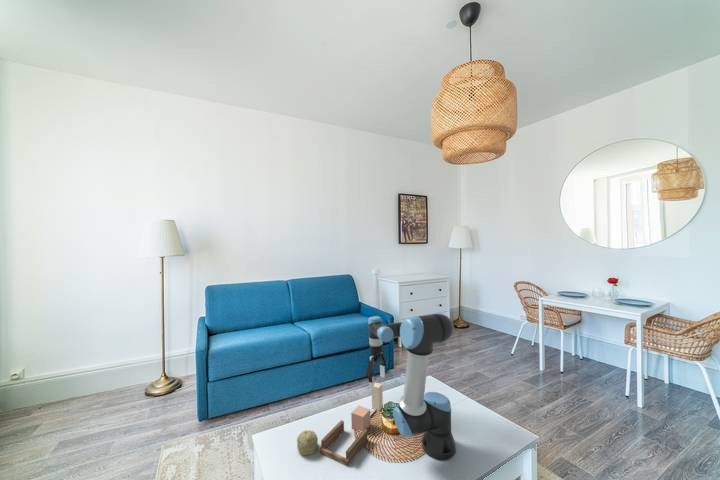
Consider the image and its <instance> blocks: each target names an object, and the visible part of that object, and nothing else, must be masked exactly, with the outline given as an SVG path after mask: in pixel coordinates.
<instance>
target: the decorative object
mask: <svg viewBox="0 0 720 480" xmlns="http://www.w3.org/2000/svg"><path fill="white" fill-rule="evenodd" d="M318 439H319V438H318V435H317V434H316V432H315V431H314V430H310V429H308V430H306V429H305V430H303V431H302V432H300V433H299V434H298V435H297V437H296V444H297V452H298V453H299V455H301V456H303V457H305V456H309V455H312V454H314V453H315V452H316V451H317V449H318Z"/></svg>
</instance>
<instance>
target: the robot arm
mask: <svg viewBox="0 0 720 480" xmlns="http://www.w3.org/2000/svg"><path fill="white" fill-rule="evenodd" d="M382 322H383V320H382V317H381V316H378V315H375V316H370V317H368V322H367V323H368V340H369V341H368V342H369V345H368V347H369V352H370V353H371V356H368V363H367V367H366V373H365V376H366V377H368V388H369V389H372V388H374V383H375V382H374V381H375V379H374V377H375V376H374V372H375V369H376V365H377V364H378V363H379V364H380V365H379V373H380V374H379V377H380V378H385V377H386V374H385V373H386V370H385V369H386V368H385V367H386V366H387V358H386V356H385V353H384V352H385V351H384V348H383V347H384V346H383V342H384V343H389V342H391V340H392V339H396V338H400V342H401V345H403V347H404V349H405V351H407V356H406V365H405V366H406V368H405V377H404V385H403V386H404V387H403V395H402V396H401V397H400V398H399V402H398V406H395V407H394V408H393V409H392V415H393V421H394V423H395V426H396V429H397V431H398V433H400V435H401V436H402V437H404V438H409V437H411V438H412V437H413V436H416V435H420V434H422V436H421V448H422V450H423V451H424V453H425V454H426V455H427V456H429V457H430V458H432V459H435V460H439V461H446V460H450V459H451V458H453V457H454V456H455V455H456V452H457V446H456V445H457V444H456V442H455V439H454V436H453V432H452V408H451V407H452V405H451V401H450V398H448V397H447V396H446V395H444V394H442V393H439V392H436V391H428V392H425V391H426V381H427V374H428V373H427V372H428V365H429V364H428V363H429V357H430V356H431V355H432V354H433V353H434V346H435V345H436V344H441V343H445V342H447V341H448V340H450V339H451V338H452V337H453V334H454V331H455V326H454V323H453V321H452V320H451V318H450V317H449V316H447V315H446V314H443V313H433V314H425V315H417V316H416V315H414V316H412V317H411V316H410V317H407V318H405V319H404V320H403V321H399V322H394V323H385V324H384V323H382Z"/></svg>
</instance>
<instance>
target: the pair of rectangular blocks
mask: <svg viewBox="0 0 720 480" xmlns="http://www.w3.org/2000/svg"><path fill="white" fill-rule="evenodd" d="M383 399H384V395H383V384H382V383H379V382H374V388H371V409H372V411H371V409H369V408H368V407H364V406H361V405H357V407H356V408H354V410H353V411H351V412H350V413H351V418H350V419H351V429H352V430H355V429H357V430H360V431H363V430H364V429H366V428H367V427H368V426H369V425H370V426H371V417H372V416H373V415H374V414H375V413H376V411H377V412H381V410H382V409H383V407H384V405H383V403H384V402H383V401H384V400H383ZM374 412H375V413H374ZM373 413H374V414H373ZM372 414H373V415H372ZM371 415H372V416H371ZM370 416H371V417H370ZM370 426H369V427H370ZM369 427H368V428H369ZM368 428H367V429H368ZM357 430H355V431H357Z"/></svg>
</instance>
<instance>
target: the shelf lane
mask: <svg viewBox="0 0 720 480" xmlns="http://www.w3.org/2000/svg"><path fill="white" fill-rule="evenodd" d="M344 431H345V421H344V420H342V419H341V420H340V421H339V422H337V424H336V425H335V426H333V428H332V429H331V430H330V431H329V432H327V434H326V435H325V436H324V437H323V438H322V439H321V440H320V442H321V443H320V448H319V453H320V454H322V455H323V456H326V457H327V458H329V459H332V460H334V461H336V462H338V463H340V464H342V465H345V466H347V467H348V466H349V465H350V464H351V462H352V461H353V460H354V458H355V457H356V456H357V454H359V452H360V451H361V449H362V448H363V446H365V445H366V443H367V442H366V441H368V429H367V430H366V429H364V430H363V431H362V432H360V433H359V435H358V436H357V437H356V438H355V440H354V441H353V442H352V443H351V445H350V446H349V447H348V448H347V449H346V450H345V457H344V456H343V455H340V454H338V453H336V452H333V451H332V450H330V449H329V448H330V447H331V446H332V445H333V443H335V441H336V440H337V439H339V437H340V436H341V435H342V434H343V433H344Z"/></svg>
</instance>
